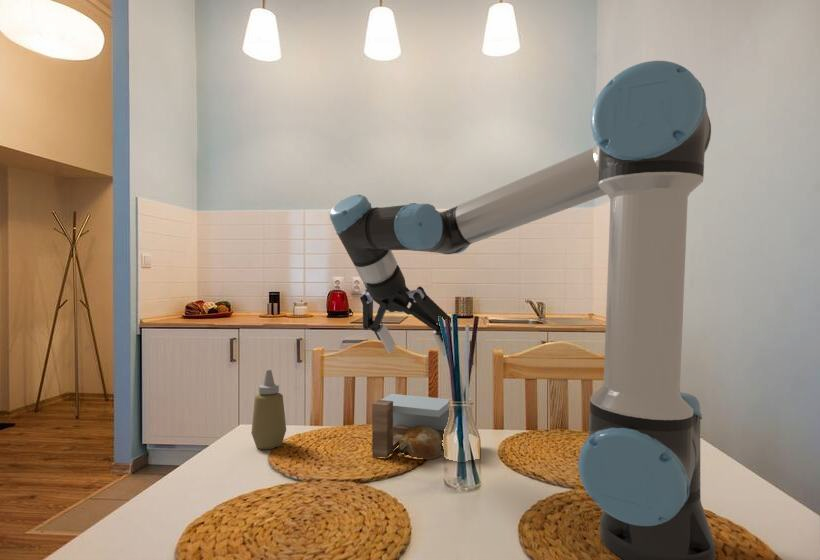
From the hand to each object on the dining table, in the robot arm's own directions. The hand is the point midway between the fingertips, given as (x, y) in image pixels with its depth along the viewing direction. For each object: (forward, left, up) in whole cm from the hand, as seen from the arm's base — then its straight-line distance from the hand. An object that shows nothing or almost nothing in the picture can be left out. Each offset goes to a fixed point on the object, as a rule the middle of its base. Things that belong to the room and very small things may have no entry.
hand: (418, 350), depth 103 cm
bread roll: (+6, +2, -25) cm, 26 cm away
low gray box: (+10, +5, -24) cm, 27 cm away
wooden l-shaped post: (+7, +4, -24) cm, 26 cm away
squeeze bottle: (-3, +37, -25) cm, 45 cm away
